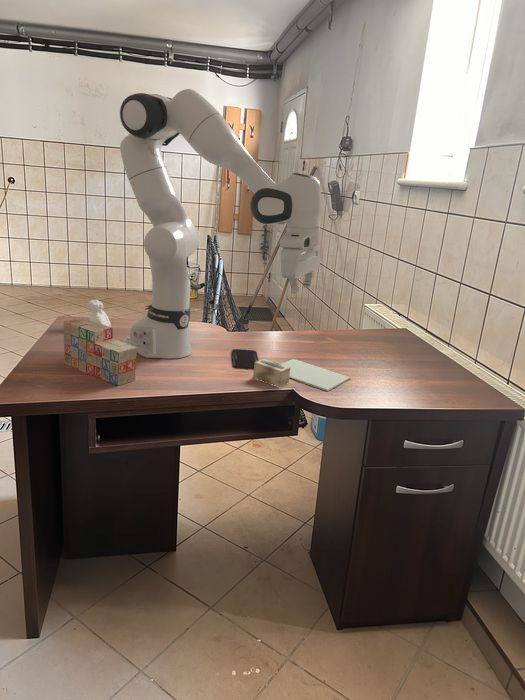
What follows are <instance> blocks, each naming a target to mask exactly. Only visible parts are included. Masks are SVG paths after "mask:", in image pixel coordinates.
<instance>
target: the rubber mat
mask: <svg viewBox="0 0 525 700" xmlns="http://www.w3.org/2000/svg"><path fill="white" fill-rule="evenodd" d="M280 364H281V365H284V366H287V367H290V376H289V379H290V378H292V379H291V380H293V379H295V380H294V381H296V380H298V381H297V382H299V381H300V382H299V383H302V382H303V384H305V385H308V386H310V387H314V388H316V389H320V390H323V391H326V392H329V391H331V390H334V389H335V388H337V387H339V386H341V385H342V384H344V383H346V382H347V381H349V380H351V377H350V376H347V375H346V374H345V375H344V374H341V373H339V372H334V371H332V370H329V369H326V368H323V367H321V366H320V367H319V366H317V365H313V364H311V363H308V362H305V361H302V360H298V359H294V358H292V359H290V360H286V361H284V362H282V363H280Z"/></svg>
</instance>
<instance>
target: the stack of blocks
mask: <svg viewBox="0 0 525 700" xmlns="http://www.w3.org/2000/svg"><path fill="white" fill-rule="evenodd" d="M63 343H64V364H66V365H68V366H70V367H72V368H74V369H76V370H79V371H80V372H83V373H85V374H89V375H91V376H93V377H96V378H98V379H100V380H102V381H105V382H108V383H110V384H112V385H115V386H117V387H118V386H123V385H125V384H127V383H130V382H135V380H136V369H137V367H136V366H137V354H138V353H137V347H135V346H132V345H128V344H127V343H124V342H122V341H121V340H118V339H114V338H113V327H112V326H111V327H109V326H106V325H103V324H100V323H96V322H93V321H90V320H89V318H84V317H79V318H75V319H74V318H73V319H70V320H64V321H63Z"/></svg>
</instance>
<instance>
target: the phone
mask: <svg viewBox="0 0 525 700" xmlns="http://www.w3.org/2000/svg"><path fill="white" fill-rule="evenodd" d="M231 350H232V351H231V357H232V362H233V363H232V364H233V368H235V369H242V368H243V369H244V368H247V369H246V370H254V365H255V362H257V361H259V356H258V353H257V351H256V350H254V349H238V348H236V349H235V348H233V349H231Z"/></svg>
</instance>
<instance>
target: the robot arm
mask: <svg viewBox="0 0 525 700" xmlns="http://www.w3.org/2000/svg"><path fill="white" fill-rule="evenodd" d="M120 105H121V106H120V109H119V119H120V122H121V125H122V127H123V128H124V129H125V131H127V133H129V134H128V135H126V136H125V137H124V138H123V139H122V140H121V142H120V145H119V150H120V156H121V159H122V164H123V168H124V170H125V174H126V176H127V179H128V182H129V184H130V187H131V190H132V192H133V195H134V197H135V199H136V202H137V204H138V205H137V206H138V207H139V209H140V211H142V212H143V213H144V214H145V215H146V217H147V218H148V220H149V221H150V223H151V224H152V226H153V227H152V228H151V229H150V230H149V231H148V232H147V233H146V235H145V236H144V239H143V248H144V251H145V253H146V255H147V256H148V261H149V266H150V273H151V283H152V287H151V288H152V289H151V304H149V305H144V307H145V308H144V310H145V311H146V310H147V314H146V315H145V316H144V317H142V318H141V319H140V320H138V321H136V322H135V323H133V324H132V325H131V327H130V332H129V336H128V337H125V338H123V339H122V341H121V342H124V343H127V344H128V345H132V346H135V347H137V353H136V354H139V355H140V356H142V357H144V358H147V359H150V358H151V359H152V358H158V359H159V358H160V359H180V358H185V357H189V356H190V355H191V354H192V352H193V351H192V346H191V345H192V344H191V339H190V338H191V337H190V319H191V307H190V299H191V298H190V297H191V283H192V282H191V280H190V277H189V272H188V266H187V261H188V260H187V259H188V257H189V256H191V255H193V254H194V253H195V252H196V250H197V249H198V247H199V245H200V242H201V235H200V232H199V230H198V228H197V227H196V226H195V224H193V222H192V220H191V218H190V215H188V213H187V210H186V209H185V207H184V205H183V204H182V202H181V200H180V198H179V196H178V194H177V191H176V189H175V187H174V184H173V182H172V178H171V176H170V173H169V170H168V168H167V166H166V162H165V161H164V158H163V156H162V155H163V154H162V146H164V147H167V146H169V144H170V143H171V142H173V140H175V139H176V138H178V136H180V135H181V137H182V138H184V139H185V141H186V142H187V143H188V145H189V146H190V147H191V148H192V149H193V150H194V151H195V152H196V153H197V154H198V155H199V156H200V157H202V159H204V160H205V161H207V162H208V163H210V164H212V165H214V166H218V167H220V168H222V169H225V170H227V171H229V172H231V173H232V174H234V175H235V176H237V177H238V178H239V179H240V180H241V181H242V182H243V183H244V184H245V186H247V187H248V189H249V190H250V191H251V192H252V193H253V195H252V197H251V200H250V207H249V208H250V212H251V214H252V216H253V218H254V219H255V220H256V222H258V223H261V224H264V225H267V226H268V225H269V226H271V225H284V224H285V225H286V231H285V233H284V235H283V236H282V237H281V238H280V239H279V247H280V248H282V249H281V250H280V251H281V253H280V271H281V276H282V277H283V278H284V279H288V282H289V286H290V293H291V295H292V294H293V295H296V294H297V295H298V294H299V293H300V286H299V278H300V277H302V276H304V281H303V286H302V287H303V288H305V289H309V288H312V281H313V279H314V278H313V277H314V271H317V270H319V269H320V266H321V247H320V243H321V241H320V240H321V224H320V223H321V222H320V214H321V211H322V188H321V183H320V180H318V178H317V177H315V176H313V175H310V174H306V173H299V172H293V173H290V175H288V176H287V177H286V178H284V179H282V180H281V181H279V182H276V181H275V180H274V179H272V178H271V176H270V175H269V174H268V173H267V172H266V171H265V170H264V169H263V167H262V166H261V165H260V164H259V163H258V162H257V161H256V160H255V159H254V158H253V156H251V154H250V153H249V152H248V150H247V149H246V148H245V146H244V145H243V143H242V142H241V140H240V139H239V137H238V136H237V134H236V132H235V131H234V130H233V128H232V127H231V126H230V124H229V123H228V122H227V121H226V118H225V117H223V116H222V114H221V113H220V112H219V110H217V108H215V106H213V105H212V104H211V102H210V101H208V100H207V99H206V98H205V97H204V96H202V94H200V93H199V92H197V91H196V90H194V89H191V88H186V89H185V88H184V89H182V90H180V91H179V92H177V93H176V94H175V95H174V96H173V97H172V98H171V97H168V96H167V97H166V96H164V95H160V94H156V93H145V92H137V93H133V94H131V95H130V94H129V96H127V97H126V98H124V100H123V101H122V103H121V104H120Z"/></svg>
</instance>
